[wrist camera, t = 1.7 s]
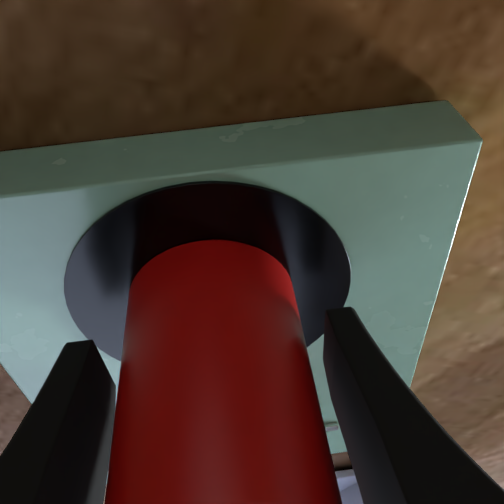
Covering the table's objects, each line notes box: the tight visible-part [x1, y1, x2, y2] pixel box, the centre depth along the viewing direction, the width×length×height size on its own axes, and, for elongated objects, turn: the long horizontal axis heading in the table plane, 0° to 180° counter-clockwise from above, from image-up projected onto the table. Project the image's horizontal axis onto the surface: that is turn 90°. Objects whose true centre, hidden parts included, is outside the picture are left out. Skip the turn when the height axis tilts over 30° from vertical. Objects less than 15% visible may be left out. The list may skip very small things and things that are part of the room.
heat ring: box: [64, 181, 351, 361], centre depth 13 cm, size 8×8×1 cm
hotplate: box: [0, 100, 483, 484], centre depth 16 cm, size 16×13×2 cm
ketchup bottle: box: [105, 240, 342, 504], centre depth 10 cm, size 4×4×8 cm
